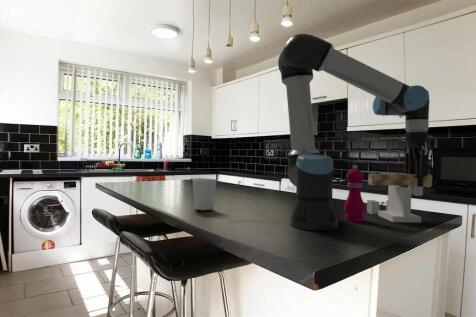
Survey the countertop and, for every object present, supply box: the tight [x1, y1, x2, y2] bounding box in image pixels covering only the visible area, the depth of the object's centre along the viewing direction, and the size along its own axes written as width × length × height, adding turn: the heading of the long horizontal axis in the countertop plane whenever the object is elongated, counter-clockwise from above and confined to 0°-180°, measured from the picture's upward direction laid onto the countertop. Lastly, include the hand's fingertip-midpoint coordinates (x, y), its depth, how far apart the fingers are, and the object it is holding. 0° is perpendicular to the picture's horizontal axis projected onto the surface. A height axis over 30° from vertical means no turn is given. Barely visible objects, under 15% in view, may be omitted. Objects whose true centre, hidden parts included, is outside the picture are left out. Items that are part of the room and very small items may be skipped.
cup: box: [192, 177, 217, 212], centre depth 131 cm, size 10×10×13 cm
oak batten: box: [367, 173, 433, 187], centre depth 119 cm, size 22×4×4 cm, turn 90°
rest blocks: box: [366, 199, 388, 215], centre depth 131 cm, size 11×5×5 cm, turn 90°
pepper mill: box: [343, 164, 366, 223], centre depth 116 cm, size 7×7×20 cm
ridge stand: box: [377, 185, 422, 223], centre depth 120 cm, size 10×12×12 cm
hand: (415, 194), depth 120 cm, fingers closed on oak batten, 3 cm apart
